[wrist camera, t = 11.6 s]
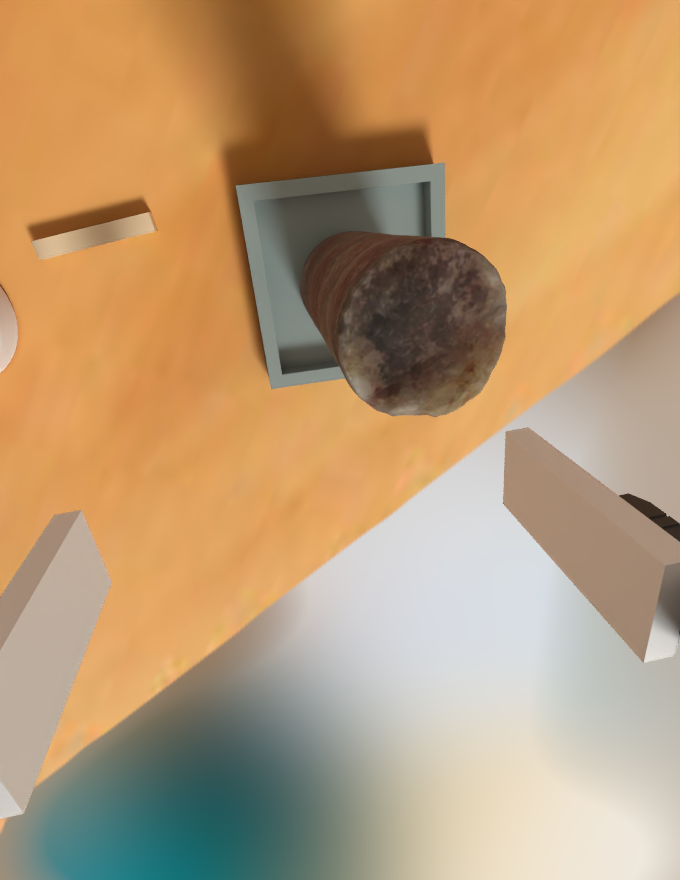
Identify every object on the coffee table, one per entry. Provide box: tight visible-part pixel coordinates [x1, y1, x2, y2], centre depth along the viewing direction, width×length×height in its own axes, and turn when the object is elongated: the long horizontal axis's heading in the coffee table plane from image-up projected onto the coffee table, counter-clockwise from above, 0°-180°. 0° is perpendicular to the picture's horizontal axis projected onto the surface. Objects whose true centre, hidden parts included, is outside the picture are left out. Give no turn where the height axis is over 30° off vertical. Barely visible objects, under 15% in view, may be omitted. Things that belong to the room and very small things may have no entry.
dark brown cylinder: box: [300, 231, 507, 417], centre depth 27 cm, size 8×7×20 cm
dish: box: [236, 163, 445, 389], centre depth 36 cm, size 14×14×2 cm
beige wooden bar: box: [31, 212, 158, 260], centre depth 33 cm, size 8×1×1 cm, turn 102°
